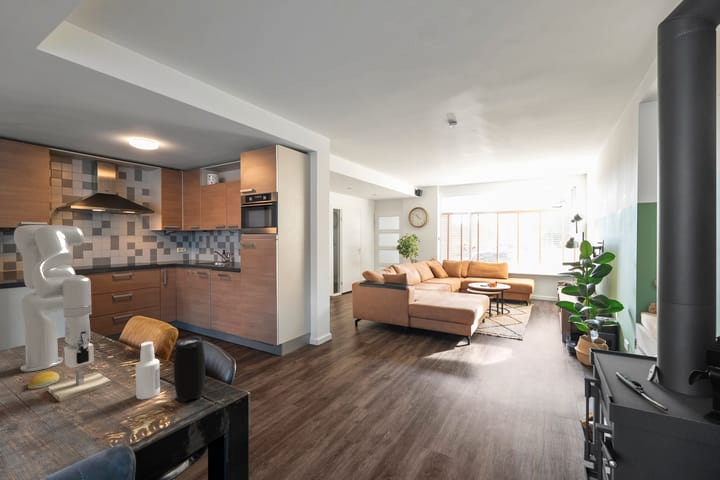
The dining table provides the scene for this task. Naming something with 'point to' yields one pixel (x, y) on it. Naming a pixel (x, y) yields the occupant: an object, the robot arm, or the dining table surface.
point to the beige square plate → (78, 385)
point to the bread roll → (43, 379)
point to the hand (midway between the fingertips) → (79, 360)
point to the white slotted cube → (72, 355)
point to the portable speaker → (189, 369)
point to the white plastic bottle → (147, 373)
